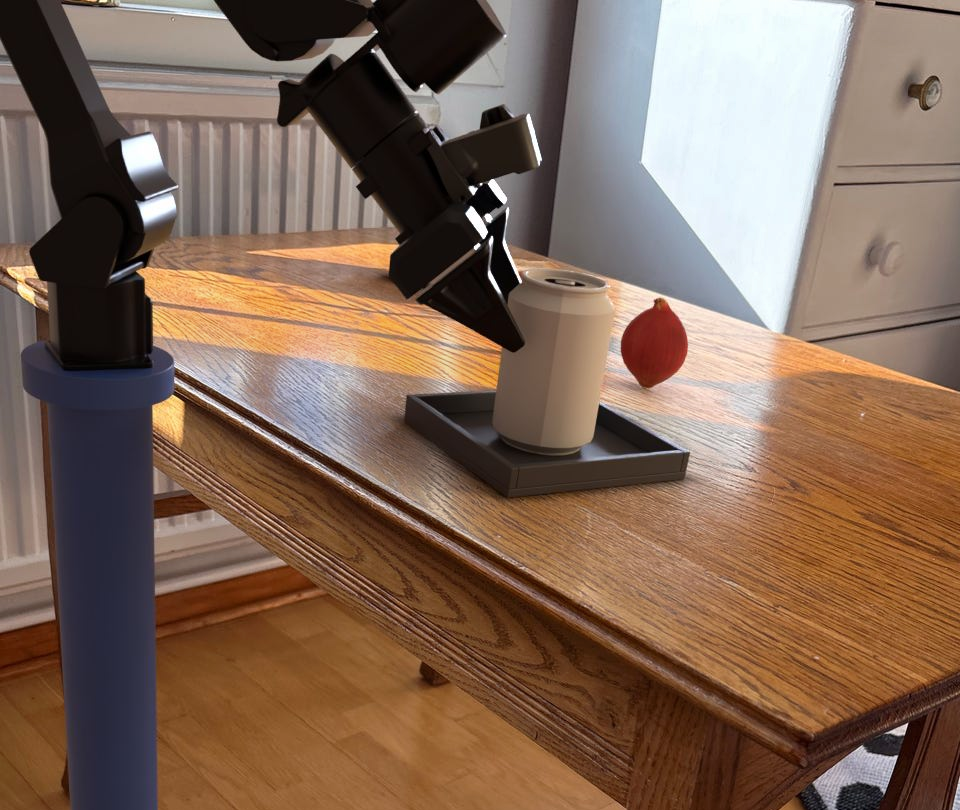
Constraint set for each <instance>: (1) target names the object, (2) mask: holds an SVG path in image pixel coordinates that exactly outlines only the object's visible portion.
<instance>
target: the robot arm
mask: <svg viewBox="0 0 960 810" xmlns="http://www.w3.org/2000/svg"><path fill="white" fill-rule="evenodd" d="M213 2H214V4H216V6H217V8H219V10H220V11H221V12H222V14H223V15H224V16H225V18H226V19H227V21H228V22H229V23H230V25H231V26H232V27H233V29H234V30H235V31H236V33H237V34H238V35H239V37H240V38H241V40H242V41H243V42H244V43H245V45H246V46H247V47H248V48H249V49H250V50H251V51H252V52H254V53H255V54H256V55H258V56H259V57H261V58H263V59H265V60H269V61H271V62H294V61H301V60H308V59H309V60H310V59H313V58H315V57H317V56H320V55H322V54H324V53H325V52H326V51H327V50H328V49H329V48H330V47H332V45H333V44H334V43H335V41H336V40H337V39H347V38H349V39H350V38H361V37H369V36H370V35H372V34H373V33H374V32H375V31H377V32H376V33H375V34H374V35H373V36H372V37H370V38H369V40H367V41H366V42H365V43H363V45H362V46H361V47H360V48H359V49H357V50H356V51H355V52H354V53H353V54H352V55H350V56H349V57H348V58H347V59H345V60H344V59H342V58H340V57H339V56H338V55H336V54H334V53H329V54H328V55H327V56H325V57H324V59H322V60H321V61H320V62H319V63H318V64H316V66H315V67H314V68H313V69H312V70H310V71H309V72H308V73H307V74H306V75H305V76H304V77H303V78H302V79H301V80H300V81H297V80H294V79H290V78H287V79H283V80H279V82H278V83H277V89H278V93H279V94H278V95H279V102H278V110H277V117H276V123H277V125H278V126H279V127H281V128H286V127H289V126H291V125H294V124H297V123H299V122H300V121H301V120H302V119H303V118H304V117H306V116H307V115H308V114H309V115H310V116H311V117H312V119H313V120H314V121H315V123H316V124H317V125H318V126H319V128H320V130H321V131H322V132H323V133H324V134H325V136H326V138H327V139H328V140H329V141H330V143H331V144H332V145H333V147H334V148H335V149H336V151H337V152H338V153H339V155H340V156H341V158H343V160H344V161H345V162H346V164H347V166H348V167H349V168H350V169H351V170H352V172H353V173H354V174H355V176H356V177H357V179H358V180H359V181H360V182H359V183H358V184H357V185H355V188H356V189H357V191H358V192H359V194H360V195H361V196H362V197H363V198H364V200H367V199H368V198H369V197H372V198H373V200H374V201H375V202H376V204H377V205H378V207H379V208H380V209H381V211H382V212H383V213H384V215H385V216H386V218H387V219H388V220H389V221H390V223H391V224H392V225H393V227H394V228H395V229H396V231H397V232H398V233H399V234H398V235H397V236H396V237H395V238H394V240H395V241H396V243H397V244H398V246H397V247H396V248H395V249H394V250H393V252H392V253H390V255H389V263H388V264H389V267H388V275H387V276H388V277H389V279H390V280H391V281H392V283H393V284H394V286H395V287H396V288H397V289H398V291H399V292H400V293H401V295H402V296H403V297H404V298H405V300H406V301H408V300H409V299H411V298H412V297H414V296H415V295H416V294H417V293H418V295H417V296H416V298H415V299H414V301H415V302H416V303H417V304H418V305H420V306H422V305H423V306H426V307H428V308H430V309H432V310H434V311H435V312H438V313H439V314H441V315H443V316H445V317H447V318H449V319H451V320H453V321H454V322H457V323H458V324H461V325H462V326H464V327H466V328H467V329H470V330H471V331H473V332H475V333H476V334H479V335H480V336H482V337H484V338H485V339H487V340H489V341H491V342H492V343H494V344H496V345H497V346H500V347H501V348H502V347H503V348H505V349H506V350H508V351H510V352H512V353H515V352H517V351H518V350H519V349H521V348H522V347H523V346H524V345H525V339H524V337H523V335H522V333H521V331H520V329H519V327H518V325H517V323H516V321H515V319H514V317H513V315H512V313H511V311H510V309H509V307H508V297H509V293H510V292H511V291H512V290H513V289H514V288H515V287H516V286H518V285H519V284H520V283H521V279H520V277H519V275H518V272H517V270H516V268H515V265H514V263H513V261H512V258H513V257H512V256H511V254H510V251H509V249H508V246H507V243H506V231H507V225H508V220H509V215H510V209H509V207H508V206H507V207H506V208H504V209H503V210H502V211H500V212H499V213H498V214H496V215H495V216H494V217H493V218H492V216H491V215H490V214H491V213H492V212H493V211H494V210H496V209H498V210H499V209H500V208H502V207H503V206H504V205H505V204H506V202H507V201H508V198H507V197H506V195H505V194H504V193H503V191H502V190H501V188H500V186H499V185H498V184H497V182H496V181H495V179H498V178H501V177H504V176H508V175H511V174H516V175H522V174H525V173H527V172H530V171H533V170H535V169H538V168H539V167H540V164H541V163H542V161H543V159H542V156H541V152H540V148H539V145H538V140H537V138H536V133H535V129H534V126H533V122H532V119H531V116H530V115H531V114H530V112H528V113H521V114H519V115H518V116H515V115H514V113H512V111H511V110H510V109H509V107H508V106H507V105H506V104H504V103H502V104H500V105H497V106H494V107H491V108H488V109H485V110H483V111H482V112H481V115H480V116H481V117H480V123H479V129H476V130H471V131H469V132H467V133H465V134H462V135H459V136H456V137H453V138H449V137H448V135H447V134H446V132H445V131H444V130H443V128H442V127H441V125H439V124H437V125H434V123H431V124H429V125H428V124H427V123H426V121H425V120H424V118H423V117H422V116H421V114H420V113H419V112H418V110H417V109H416V107H415V105H414V104H413V103H412V101H411V100H410V99H409V98H408V96H407V95H406V93H405V91H404V90H403V89H402V88H401V86H400V84H398V82H397V81H396V79H395V78H394V76H393V75H392V74H391V72H390V71H389V69H388V68H387V67H386V65H385V64H384V62H383V61H382V59H381V58H380V56H379V55H378V54H377V52H378V51H379V50H381V52H382V53H383V55H384V56H385V58H386V60H387V61H388V63H389V64H390V66H391V67H392V68H393V71H395V73H396V74H397V75H398V76H399V78H400V80H402V81H403V83H404V84H405V85H406V86H407V87H408V89H410V90H411V91H412V92H414V93H417V92H418V91H419V90H421V89H422V88H423V86H424V84H425V85H426V87H427V88H429V90H431V91H432V92H433V93H434V94H436V95H440V94H441V93H443V92H444V91H445V90H446V89H447V88H448V87H449V86H450V85H452V84H453V83H454V82H455V81H456V80H458V79H459V78H460V77H461V76H462V75H463V74H464V73H466V72H468V70H469V69H471V67H473V66H474V65H475V64H476V63H478V61H480V60H481V59H482V58H483V57H484V56H485V55H487V54H488V53H489V52H490V51H492V49H493V48H495V47H496V46H497V45H498V44H499V43H501V42H502V41H504V39H505V38H506V37H507V33H506V31H505V29H504V27H503V24H502V23H501V21H500V20H499V18H498V16H497V14H496V13H495V11H494V10H493V8H492V7H491V5H490V3H489V1H487V0H374V1H373V0H213ZM0 43H1V44H2V47H3V48H4V51H5V53H6V55H7V57H8V60H9V61H10V64H11V65H12V67H13V71H14V72H15V74H16V76H17V78H18V80H19V82H20V85H21V86H22V88H23V91H24V93H25V95H26V97H27V99H28V101H29V103H30V105H31V107H32V109H33V112H34V113H35V116H36V118H37V120H38V123H39V124H40V126H41V128H42V131H43V132H44V136H45V139H46V143H47V145H46V146H47V157H48V170H49V182H50V188H51V191H52V195H53V198H54V202H55V204H56V208H57V210H58V213H59V217H60V219H59V220H58V222H56V223H55V224H54V225H53V226H52V227H51V228H50V229H49V230H48V231H47V232H46V233H45V234H44V235H43V236H42V237H40V238H39V239H38V240H37V241H36V242H35V243H34V244H33V245H32V246H31V247H30V248H29V250H28V254H29V257H30V259H31V262H32V264H33V267H34V269H35V272H36V275H37V277H38V279H39V280H40V281H42V282H46V288H47V289H46V291H47V306H48V307H47V308H48V325H49V326H48V328H49V339H50V340H49V339H44V340H45V348H46V349H47V350H48V352H49V353H50V354H51V355H52V357H53V358H54V359H55V360H56V362H57V363H58V364H59V366H60V367H61V368H62V369H63V370H65V371H88V370H116V369H144V368H153V360H152V359H151V358H150V357H149V356H148V355H147V354H151V353H152V352H153V346H154V313H153V312H154V311H153V310H154V309H153V307H154V306H153V305H154V304H153V301H154V300H152V298H151V297H149V295H148V294H146V279H145V278H144V277H143V276H142V275H141V274H140V273H139V272H138V271H140V270H144V269H146V268H148V267H149V265H150V263H151V259H152V257H153V253H154V251H155V249H156V248H157V247H159V246H161V245H162V244H164V243H165V242H166V241H167V240H168V238H169V237H170V235H172V233H173V229H174V225H175V222H176V220H177V217H178V215H177V214H178V213H177V206H176V205H177V204H176V201H175V197H174V195H173V193H172V192H174V191H177V190H178V189H179V185H178V184H177V183H176V182H175V180H174V179H173V178H172V177H171V176H170V174H169V173H168V170H167V169H166V168H165V165H164V163H163V160H162V157H161V153H160V149H159V145H158V143H157V141H156V138H155V136H154V134H153V132H152V131H145V132H140V133H135V134H130V133H129V132H128V130H127V129H126V128H125V127H124V125H122V124H121V123H120V121H118V119H117V118H116V117H115V116H114V114H113V112H112V111H111V110H110V107H109V105H108V103H107V101H106V99H105V97H104V94H103V92H102V90H101V88H100V86H99V83H98V81H97V79H96V76H95V75H94V73H93V70H92V68H91V65H90V63H89V61H88V59H87V57H86V55H85V52H84V50H83V48H82V46H81V43H80V41H79V40H78V37H77V35H76V33H75V31H74V28H73V25H72V24H71V21H70V20H69V17H68V15H67V13H66V11H65V8H64V7H63V3H62V2H61V0H0ZM428 283H430V285H429V286H427V287H425V286H426V285H427V284H428ZM423 288H424V289H423ZM419 291H420V292H419Z"/></svg>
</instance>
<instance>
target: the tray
mask: <svg viewBox="0 0 960 810" xmlns="http://www.w3.org/2000/svg"><path fill="white" fill-rule="evenodd" d="M495 397H496V389H494V390H493V389H492V390H491V389H489V390H488V389H487V390H473V391H469V390H468V391H455V392H454V391H453V392H452V391H451V392H450V391H449V392H433V393H432V392H431V393H414V394H406V395H405V406H404V417H403V422H404V423H406V424H407V425H408V426H410V427H411V428H412V429H413V430H415V431H416V432H418V433H419V434H420V435H422V436H423V437H425V438H426V439H427V440H428V441H430V442H432V443H433V444H434V445H435V446H436V447H438V448H439V449H440V450H442V451H444V452H445V453H446V454H447V455H449V456H450V457H452V459H454V460H455V461H456V462H458V463H459V464H461V465H462V466H463V467H465V468H466V469H467V470H469V471H470V472H472V473H473V474H475V475H476V476H477V477H478V478H480V479H481V480H482V481H484V482H485V483H486V484H487V485H489V486H490V487H492V488H493V489H494V490H496V491H497V492H498V493H500V494H501V495H503V496H504V497H505V498H507V499H509V498H518V497H527V496H528V497H529V496H537V495H546V494H556V493H557V494H558V493H564V492H566V493H567V492H574V491H575V492H576V491H584V490H585V491H586V490H595V489H603V488H613V487H614V488H615V487H623V486H632V485H633V486H634V485H640V484H641V485H642V484H649V483H659V482H661V483H662V482H669V481H680V480H685V478H686V474H687V469H688V465H689V462H690V461H689V460H690V456H691V451H689V450H688V449H686V448H684V447H683V446H680V445H678V444H677V443H675V442H673V441H671V440H670V439H668V438H666V437H664V436H662V435H661V434H659V433H658V432H655V431H654V430H652V429H650V428H648V427H647V426H645V425H643V424H641V423H639V422H638V421H636V420H635V419H633V418H631V417H630V416H628V415H625V414H623V413H622V412H620V411H618V410H616V409H614V408H613V407H611V406H609V405H607V404H606V403H604V402H602V401H601V400H600V401H599V407H598V412H597V418H596V424H595V429H594V435H593V438H592V440H591V442H590V443H588V444H586V445H585V446H583V447H581V448H580V449H579V451H577V452H575V453H573V454H567V455H552V456H551V455H541V454H535V453H530V452H526V451H522V450H519V449H516V448H514V447H512V446H510V445H508V444H507V443H505V442H504V441H503V440H502V437H501V436H500V434H499V433H498V432H497V431H496V430H495V429H494V428H493V424H492V420H493V412H494V405H495Z"/></svg>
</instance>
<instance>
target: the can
mask: <svg viewBox="0 0 960 810" xmlns="http://www.w3.org/2000/svg"><path fill="white" fill-rule="evenodd" d="M521 277H522V282H521V283H520V284H519V285H518V286H516V287H515V288H514V289H513V290H512V291H511V292H510V293H509V297H508V307H509V309H510V311H511V313H512V315H513V317H514V319H515V321H516V323H517V325H518V327H519V329H520V331H521V333H522V335H523V337H524V339H525V345H524V346H523V347H522V348H521V349H519V350H518V351H517V352H515V353H512V352H510V351H508V350H506V349H505V348H503V347H501V352H500V360H499V369H498V375H497V382H496V389H495V390H496V397H495V405H494V412H493V420H492V424H493V428H494V429H495V430H496V431H497V432H498V433H499V434H500V436H501V437H502V440H503V441H504V442H505V443H507V444H508V445H510V446H512V447H514V448H516V449H519V450H522V451H526V452H530V453H535V454H541V455H551V456H552V455H567V454H573V453H575V452H577V451H579V449H580V448H581V447H583V446H585V445H586V444H588V443H590V442H591V440H592V438H593V435H594V429H595V424H596V418H597V412H598V407H599V401H600V402H601V395H602V388H603V383H604V377H605V372H606V366H607V359H608V355H609V350H610V349H609V348H610V343H611V337H612V331H613V326H614V320H615V315H616V309H617V308H616V307H615V305H614V304H613V302H612V300H611V299H610V296H609V295H608V291H609V290H610V288H611V285H610V283H609V282H608V281H607V280H605V279H603V278H601V277H597V276H596V275H592V274H589V273H584V272H580V271H574V270H568V269H562V268H560V269H551V268H533V269H528V270H525V271H523V272H522V273H521Z"/></svg>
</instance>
